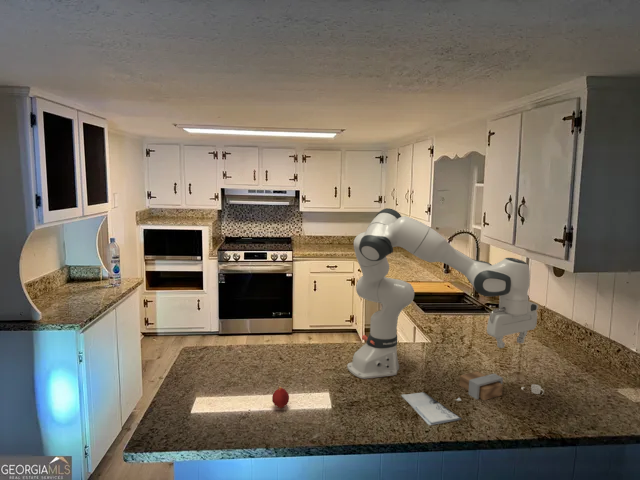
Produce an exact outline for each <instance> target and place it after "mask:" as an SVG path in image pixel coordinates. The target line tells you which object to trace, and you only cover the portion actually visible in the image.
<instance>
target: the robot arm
mask: <svg viewBox="0 0 640 480" xmlns="http://www.w3.org/2000/svg"><path fill="white" fill-rule="evenodd" d="M394 247H395V248H396V247H399V248H401V249H403V250H405V251H407V252H408V253H410V254H412V256H415V257H417V258H418V259H419V260H423V261H425V262H426V263H427V262H428V263H443V264H446V265H447V266H449V267H451V268H453V269H454V270H455V271H457V272H459V273H460V274H463V275H464V277H465V278H466V279H467V280H468V282H469V283H470V285H472V287H473V288H474V290H475V291H476V293H478V294H479V295H481V296H483V297H486V298H488V297H489V298H490V297H491V298H492V297H498V296H499V302H498V303H499V304H498V308H494V309H493V310H492V311H491V312H490V314H489V317H488V320H487V326H486V332H487V335H488V336H491V337H493V338H495V340H496V342H497V343H496V345H497V348H499V349H503V348H505V345H506V344H505V342H504V341H503V340H504V336H509V335H514V334H519V335H518V336H517V337H516V342H517V343H518V344H524V342H525V338H526V337H527V334H528V331H533V330H535V328H536V327H537V323H538V322H537V321H538V312H537V311H538V310H539V304H537V303H535V302H532V301H529V294H528V291H529V289H530V283H531V276H530V275H531V273H530V266H529V264H528V263H527V262H525V260H522V259H519V258H515V257H505V258H503V259H502V260H500V261H499V262H497V263H495V264H491V263H490V262H487V261H484V260H478V259H477V260H476V259H474V258H471V257H469V256H468V255H466V254H464V253H463V252H461V251H459V250H457V249H456V248H455V247H453V246H452V245H451V244H450V243H449V242H448V241H447V239H446V238H445V237H444V236H442V234H440V233H439V232H438V231H436V230H435V229H434V228H432V227H430V226H429V225H427V224H425V223H423V222H421V221H419V220H417V219H415V218H412V217H410V216H406V215H403V216H402V215H401V213H399V212H398V211H397V210H395V209H393V208H383V209H381V210H380V211H379V212H378V213H377V214H376V215H375V216H374V217H373V219H372V221H371V222H370V223H369V224H368V227H367V229H366V231H363V232H360V233H359V234H357V235H356V237H355V238H354V240H353V249H354V254H355V258H356V261H357V263H358V265H359V267H360V270H361V273H362V276H360V278H359V279H358V280H357V281H356V287H355V290H356V293H357V295H358V297H360V298H362V299H364V300H366V301H369V302H374V303H379V304H381V305H382V307H381V309H380V310H377V311H375V312H374V313H372V315H371V316H370V325H369V326H370V333H369V334H368V336H367V335H366V334H362V336H361V339H362V340H364V341H365V344H363V345H362V346H361V347H360V348H359V349H357V351H355V352H354V354H353V357H352V361H351V362H348V363H347V365H346V368H347V370H348V371H349V372H350V373H351V374H352V375H354V376H355V377H357V378H359V379H363V380H364V379H365V380H366V379H367V380H368V379H376V378H385V377H389V376H390V377H391V376H397V374H398V371H399V370H400V364H399V359H398V351H397V345H398V333H397V328H398V327H397V326H398V320H399V316H400V314H401V312H402V311H403V310H404V309H405V308H407V307H408V306H409V305H410V304H412V303H413V300H414V299H415V289H414V287H413V285H412V283H410V282H407V281H405V280H402V279H396V278H391V277H386V276H387V275H388V273H389V271H390V264H389V261H388V258H387V256H388V255H390V254H392V253H393V252H394Z"/></svg>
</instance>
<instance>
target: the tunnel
mask: <svg viewBox="0 0 640 480" xmlns="http://www.w3.org/2000/svg"><path fill="white" fill-rule="evenodd" d="M503 381H504V377H502V376H500V375H498V374H496V373H489V374H487V375H485V376H482V377H479V378H475V379H471V380H469V391H468V395H469V396H470V397H472V398H473V399H475V400H479V399H480V398H479V389H480V386H483V385H486V384H490V383H493V382H499V383H500V384H502V385H503Z"/></svg>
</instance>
